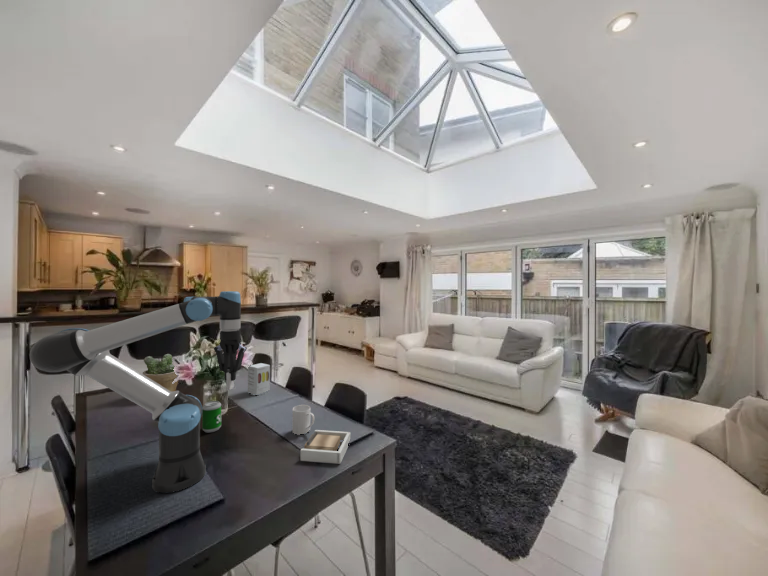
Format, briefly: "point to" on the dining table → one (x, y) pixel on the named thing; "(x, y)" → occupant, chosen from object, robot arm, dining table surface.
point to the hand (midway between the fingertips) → (230, 388)
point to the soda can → (211, 416)
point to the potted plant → (161, 371)
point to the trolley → (322, 442)
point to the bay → (327, 455)
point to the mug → (302, 419)
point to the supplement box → (258, 378)
